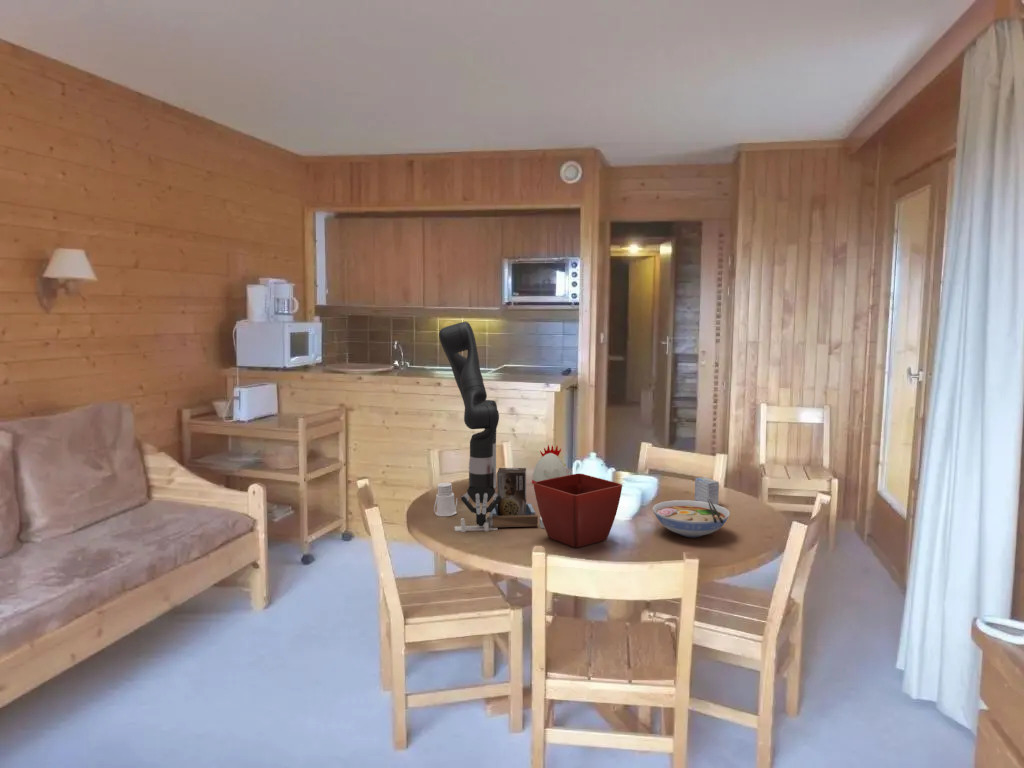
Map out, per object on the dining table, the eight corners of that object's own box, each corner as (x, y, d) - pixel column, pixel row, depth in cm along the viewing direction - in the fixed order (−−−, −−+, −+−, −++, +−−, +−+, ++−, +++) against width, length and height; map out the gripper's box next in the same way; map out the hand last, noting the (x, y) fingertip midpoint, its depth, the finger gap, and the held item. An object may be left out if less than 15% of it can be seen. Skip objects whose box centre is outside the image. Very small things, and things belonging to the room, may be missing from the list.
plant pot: (531, 536, 219) (531, 481, 217) (578, 525, 230) (579, 472, 228) (574, 554, 204) (575, 495, 202) (623, 541, 215) (624, 484, 213)
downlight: (453, 509, 247) (452, 480, 246) (461, 514, 241) (459, 485, 240) (431, 513, 244) (429, 483, 243) (438, 518, 238) (436, 488, 236)
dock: (489, 516, 239) (489, 504, 239) (530, 515, 241) (530, 503, 240) (492, 526, 229) (492, 513, 228) (535, 524, 230) (535, 512, 230)
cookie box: (526, 516, 238) (527, 467, 236) (525, 522, 231) (525, 472, 229) (498, 515, 238) (498, 467, 236) (496, 521, 232) (496, 471, 230)
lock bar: (487, 525, 228) (487, 515, 228) (536, 523, 230) (536, 514, 229) (487, 527, 225) (487, 518, 225) (537, 526, 227) (537, 516, 227)
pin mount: (454, 526, 228) (454, 518, 228) (542, 523, 232) (542, 515, 231) (455, 532, 223) (455, 524, 222) (545, 529, 226) (545, 521, 225)
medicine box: (718, 506, 251) (719, 481, 250) (707, 507, 250) (708, 482, 249) (704, 500, 259) (705, 476, 258) (694, 502, 257) (694, 477, 256)
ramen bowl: (651, 519, 236) (651, 494, 235) (724, 523, 232) (725, 498, 231) (652, 545, 211) (652, 517, 210) (734, 549, 208) (735, 521, 207)
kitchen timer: (569, 487, 277) (569, 448, 275) (533, 487, 276) (533, 448, 275) (566, 478, 290) (566, 441, 289) (531, 478, 290) (531, 441, 288)
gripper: (460, 473, 220) (459, 529, 222) (503, 472, 221) (503, 528, 223) (459, 467, 227) (459, 522, 229) (501, 467, 229) (501, 521, 231)
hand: (480, 525), depth 226 cm, fingers closed
